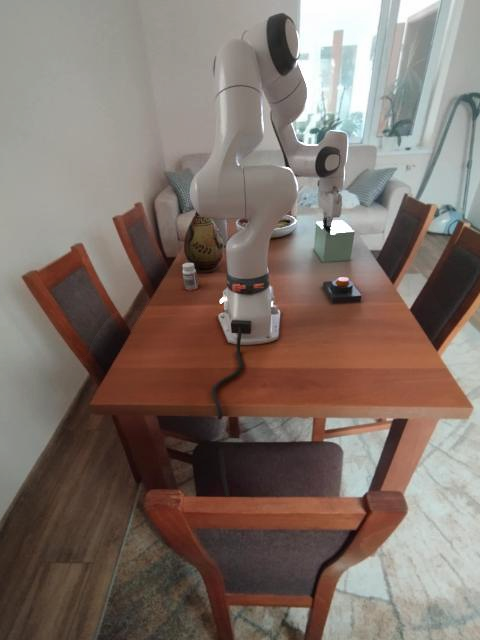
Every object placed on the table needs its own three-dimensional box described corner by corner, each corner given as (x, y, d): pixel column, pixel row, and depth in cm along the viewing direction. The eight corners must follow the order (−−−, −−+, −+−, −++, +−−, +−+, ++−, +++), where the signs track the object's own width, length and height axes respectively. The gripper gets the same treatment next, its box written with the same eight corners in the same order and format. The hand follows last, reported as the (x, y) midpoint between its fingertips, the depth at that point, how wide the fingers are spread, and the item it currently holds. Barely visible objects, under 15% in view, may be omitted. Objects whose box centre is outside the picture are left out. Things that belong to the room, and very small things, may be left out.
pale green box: (351, 262, 129) (356, 232, 122) (324, 264, 129) (327, 234, 122) (338, 247, 143) (342, 220, 136) (313, 248, 143) (316, 221, 136)
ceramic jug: (225, 275, 125) (217, 186, 106) (185, 277, 125) (170, 189, 107) (226, 258, 138) (219, 177, 120) (190, 260, 139) (177, 180, 120)
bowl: (304, 226, 170) (305, 209, 165) (281, 243, 150) (282, 225, 145) (252, 221, 182) (252, 205, 177) (225, 237, 162) (224, 220, 157)
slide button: (331, 226, 129) (332, 218, 127) (324, 227, 129) (324, 219, 127) (330, 225, 131) (330, 217, 129) (322, 225, 131) (323, 217, 129)
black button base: (360, 301, 103) (362, 290, 101) (332, 304, 103) (333, 292, 101) (348, 285, 113) (350, 274, 110) (322, 287, 112) (323, 276, 110)
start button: (349, 286, 104) (350, 281, 103) (338, 287, 104) (339, 281, 103) (346, 281, 107) (346, 276, 106) (335, 282, 107) (335, 277, 106)
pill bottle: (192, 283, 120) (188, 261, 115) (201, 286, 118) (197, 263, 113) (182, 288, 117) (178, 265, 112) (191, 291, 115) (187, 268, 110)
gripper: (348, 189, 113) (343, 231, 121) (332, 179, 129) (328, 217, 137) (330, 190, 113) (326, 232, 121) (316, 180, 128) (313, 218, 137)
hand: (327, 224), depth 129 cm, fingers closed on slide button, 2 cm apart
